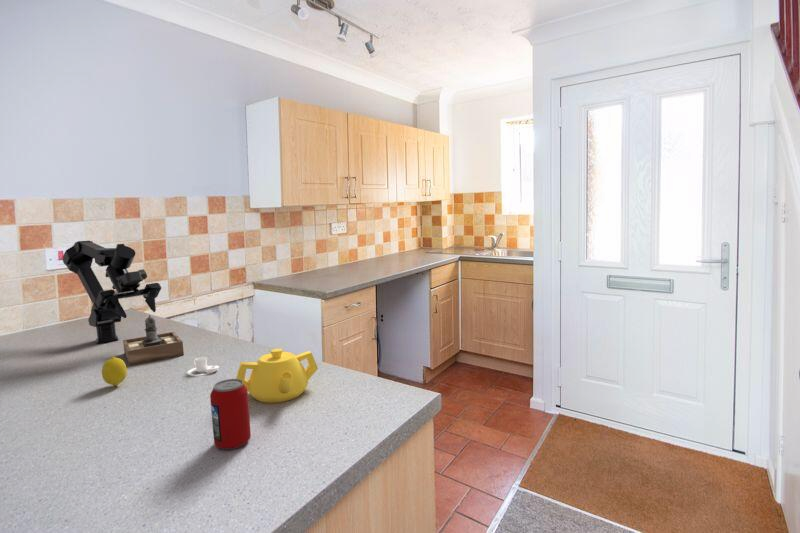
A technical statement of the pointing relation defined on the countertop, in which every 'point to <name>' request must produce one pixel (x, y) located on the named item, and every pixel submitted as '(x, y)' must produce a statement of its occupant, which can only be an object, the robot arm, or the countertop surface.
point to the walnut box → (153, 349)
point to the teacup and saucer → (202, 367)
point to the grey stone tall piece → (151, 333)
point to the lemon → (114, 371)
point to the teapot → (277, 375)
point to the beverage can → (230, 414)
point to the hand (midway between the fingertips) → (140, 314)
